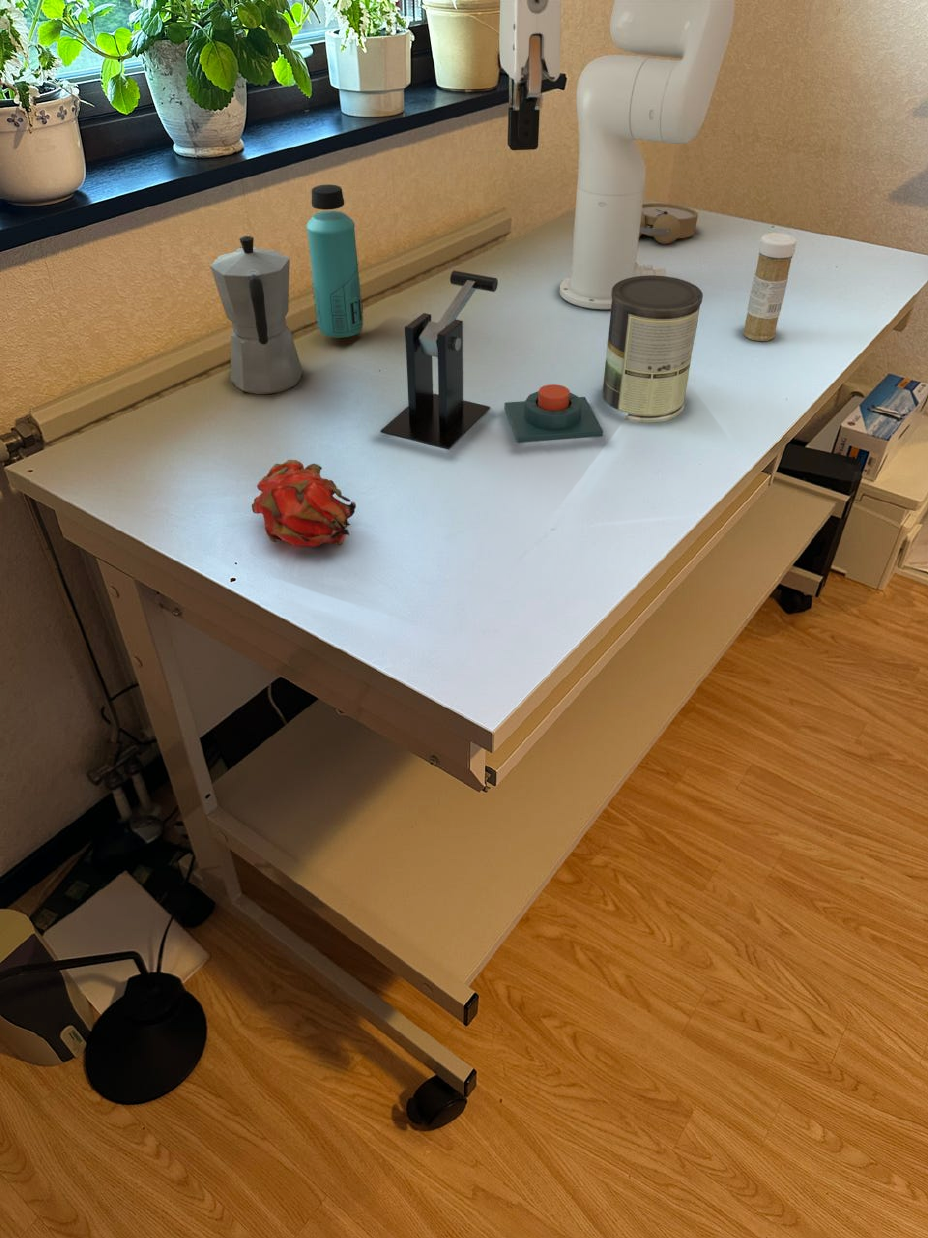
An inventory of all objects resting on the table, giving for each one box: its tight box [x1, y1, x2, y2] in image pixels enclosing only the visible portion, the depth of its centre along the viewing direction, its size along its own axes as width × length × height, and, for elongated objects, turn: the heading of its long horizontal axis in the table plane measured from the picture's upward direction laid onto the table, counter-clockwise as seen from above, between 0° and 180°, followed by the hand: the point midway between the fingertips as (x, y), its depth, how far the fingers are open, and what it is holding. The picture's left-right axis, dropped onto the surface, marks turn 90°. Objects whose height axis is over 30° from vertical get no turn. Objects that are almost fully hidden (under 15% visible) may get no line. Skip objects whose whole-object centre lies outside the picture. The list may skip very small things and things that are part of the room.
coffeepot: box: [209, 235, 304, 395], centre depth 114 cm, size 15×9×18 cm, turn 15°
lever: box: [419, 270, 499, 358], centre depth 106 cm, size 13×6×2 cm, turn 153°
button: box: [538, 383, 571, 411], centre depth 108 cm, size 4×4×2 cm
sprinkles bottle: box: [742, 232, 797, 342], centre depth 127 cm, size 5×5×13 cm
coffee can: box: [602, 275, 704, 423], centre depth 111 cm, size 10×10×14 cm
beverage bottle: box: [305, 184, 365, 339], centre depth 124 cm, size 6×7×20 cm
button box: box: [503, 390, 604, 444], centre depth 110 cm, size 10×8×4 cm
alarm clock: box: [639, 202, 699, 245], centre depth 162 cm, size 11×5×15 cm
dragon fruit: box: [251, 459, 357, 548], centre depth 92 cm, size 8×8×12 cm
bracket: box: [379, 312, 491, 450], centre depth 107 cm, size 11×9×13 cm
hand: (522, 147), depth 105 cm, fingers closed
